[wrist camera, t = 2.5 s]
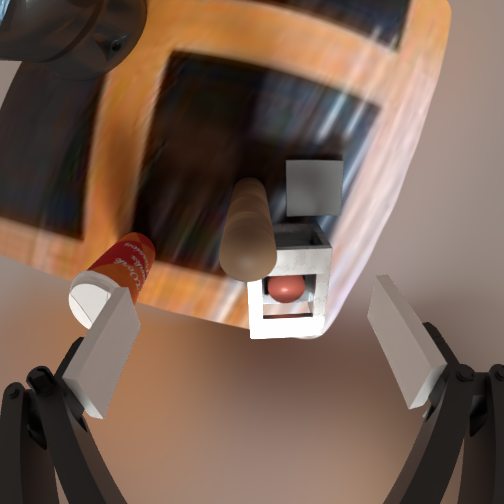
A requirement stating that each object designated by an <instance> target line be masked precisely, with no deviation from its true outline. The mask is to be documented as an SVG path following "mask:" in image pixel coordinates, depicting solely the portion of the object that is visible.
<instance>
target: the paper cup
mask: <svg viewBox="0 0 504 504" xmlns="http://www.w3.org/2000/svg"><path fill="white" fill-rule="evenodd" d="M154 259H155V247H154V245H153V243H152V241H151V240H150V239H149V238H148V237H147V236H145V235H143V234H141V233H137V232H132V233H129V234H127V235H125V236H124V237H122V238H121V239H120V240H119V241H118V242H116V243H115V244H114V245H113V246H112V247H111V248H110V249H109V250H108V251H106V252H105V253H104V254H103V255H102V256H101V257H100V258H99V259H98V260H97V261H96V262H95V263H94V264H93V265H92V266H91V267H89V268H88V269H87V270H86V271H83V272H80V273H79V274H78V275H77V276H76V277H75V278H74V280H73V281H72V284H71V288H70V293H69V304H70V308H71V310H72V312H73V314H74V315H75V317H76V318H77V319H78V321H79V322H80V323H81V324H82V325H84V326H85V327H86V328H88V329H90V328H91V326H92V324H93V323H94V321H95V320H96V318H97V316H98V315H99V313H100V312H101V310H102V308H103V307H104V305H105V304H106V302H107V301H108V299H109V298H110V296H111V295H112V293H113V291H114V290H115V288H116V287H128V288H129V291H130V295H131V298H132V301H133V304H134V305H135V303H136V300H137V298H138V296H139V293H140V291H141V289H142V287H143V284H144V282H145V280H146V278H147V275H148V273H149V271H150V269H151V266H152V264H153V261H154Z"/></svg>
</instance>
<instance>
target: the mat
mask: <svg viewBox="0 0 504 504" xmlns="http://www.w3.org/2000/svg"><path fill="white" fill-rule="evenodd" d="M342 183H343V161H342V160H286V216H322V215H341V202H342Z"/></svg>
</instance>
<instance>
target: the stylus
mask: <svg viewBox="0 0 504 504" xmlns="http://www.w3.org/2000/svg"><path fill="white" fill-rule="evenodd" d="M219 261H220V265H221V267H222V269H223V270H224V271H225V272H226V274H228V275H229V276H230V277H232V278H233V279H235V280H238V281H242V282H254V281H258V280H261V279H263V278H265V277H266V276H268V275H269V274H270V273H271V272H272V270H273V269H274V267H275V265H276V262H277V250H276V244H275V239H274V233H273V228H272V222H271V217H270V212H269V206H268V201H267V196H266V190H265V187H264V185H263V184H262V182H261V181H259V180H258V179H256V178H253V177H246V178H243V179H241V180H239V181H238V182H237V183H236V184H235V186H234V189H233V193H232V197H231V201H230V206H229V210H228V215H227V219H226V223H225V228H224V232H223V237H222V241H221V246H220V251H219Z"/></svg>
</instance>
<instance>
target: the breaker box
mask: <svg viewBox="0 0 504 504" xmlns="http://www.w3.org/2000/svg"><path fill="white" fill-rule="evenodd" d="M272 228H273V233H274V239H275V244H276V250H277V262H276V265H275V267H274V269H273V270H272V272H271V273H270V274H269V275H268V276H282V275H303V279H304V282H305V291H304V293H303V295H302V296H301V297H300V298H299V299H298V300H296V301H294V302H308V305H309V309H310V313H302V314H284V315H262V304H273V303H280V302H277V301H275V300H274V299H273V298H272V297H271V296H270V294H269V291H268V281H267V276H266V277H265V278H263V279H261V280H258V281H254V282H248V297H249V314H250V330H251V338H273V337H274V338H275V337H292V336H307V335H320V334H323V327H324V320H325V312H326V304H327V296H328V287H329V278H330V268H331V257H332V247H331V245H330V243H329V242H328V240H327V238H326V236H325V235H324V233H323V231H322V229H321V228H320V226H319V224H318V223H317V221H311V222H278V223H272ZM291 303H293V302H291Z"/></svg>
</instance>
